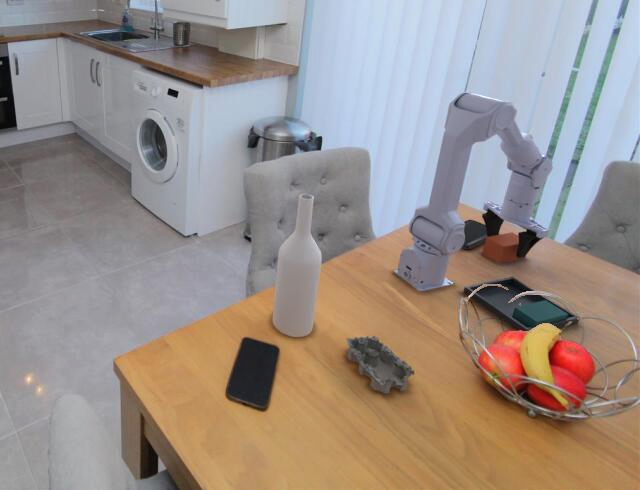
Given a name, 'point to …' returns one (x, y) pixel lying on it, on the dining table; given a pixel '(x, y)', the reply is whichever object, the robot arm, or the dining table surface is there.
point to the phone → (474, 234)
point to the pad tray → (499, 298)
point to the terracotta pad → (501, 247)
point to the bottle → (297, 276)
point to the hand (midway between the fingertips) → (505, 248)
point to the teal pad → (538, 313)
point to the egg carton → (379, 364)
